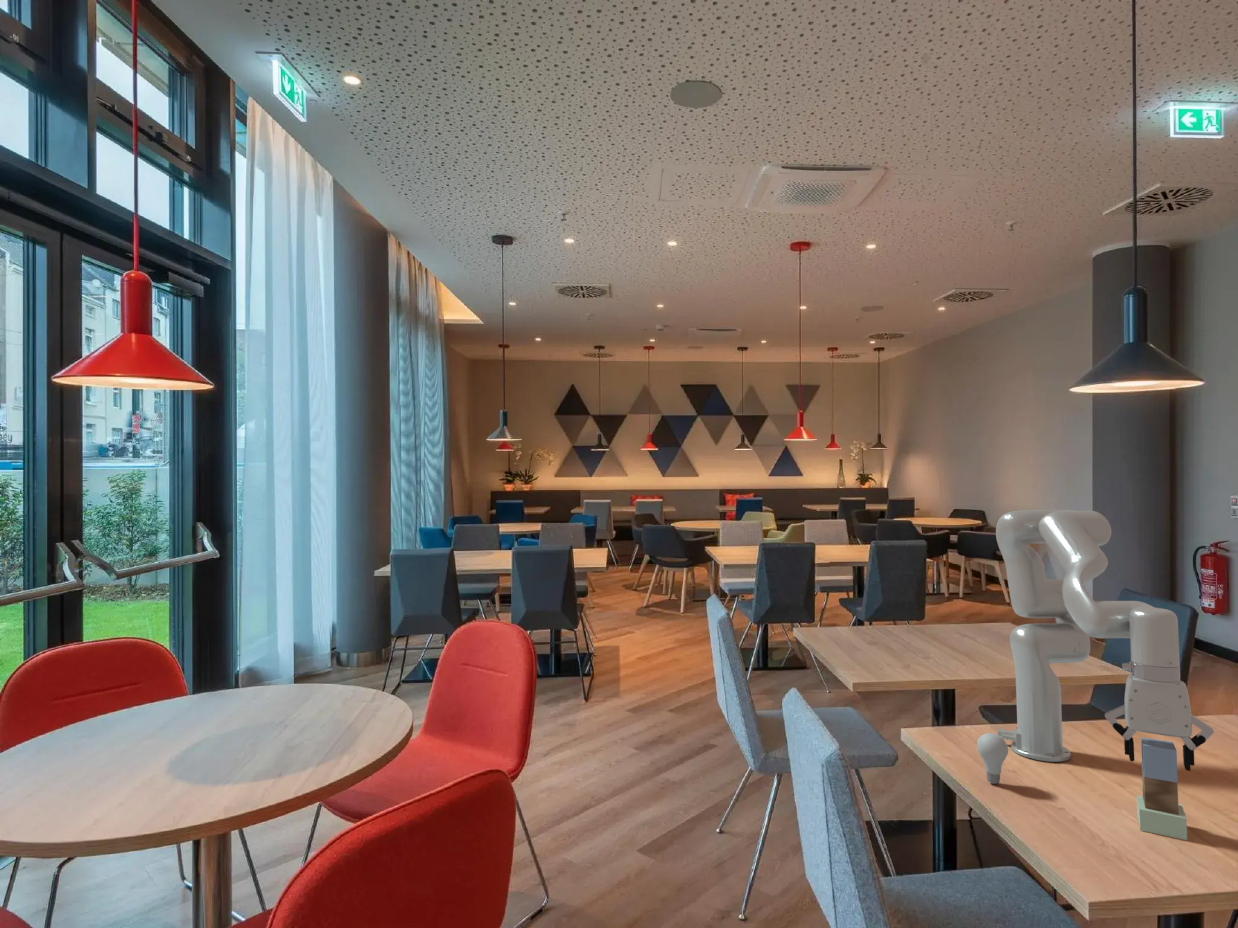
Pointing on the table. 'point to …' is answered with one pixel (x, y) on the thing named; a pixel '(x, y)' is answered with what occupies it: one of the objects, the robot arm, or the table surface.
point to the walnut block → (1160, 795)
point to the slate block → (1159, 759)
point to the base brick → (1162, 821)
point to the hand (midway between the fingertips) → (1158, 763)
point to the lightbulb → (992, 755)
